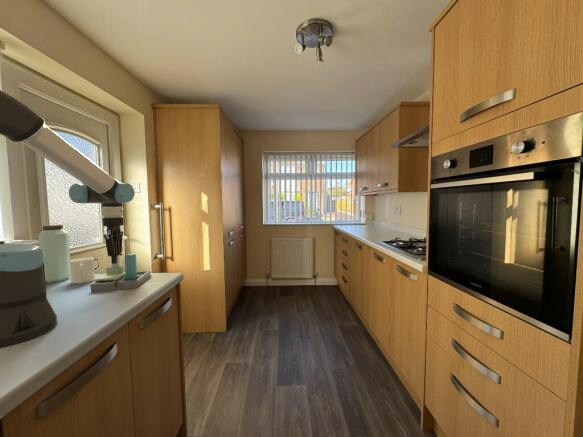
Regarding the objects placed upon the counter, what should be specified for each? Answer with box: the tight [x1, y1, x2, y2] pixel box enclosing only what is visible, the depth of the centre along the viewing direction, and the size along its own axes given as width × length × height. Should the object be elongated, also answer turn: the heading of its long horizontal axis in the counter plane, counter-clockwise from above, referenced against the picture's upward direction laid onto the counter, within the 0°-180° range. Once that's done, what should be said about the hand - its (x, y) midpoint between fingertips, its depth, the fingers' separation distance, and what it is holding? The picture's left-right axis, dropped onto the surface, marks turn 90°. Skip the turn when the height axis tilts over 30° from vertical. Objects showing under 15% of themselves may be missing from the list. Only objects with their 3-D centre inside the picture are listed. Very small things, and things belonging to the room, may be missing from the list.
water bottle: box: [37, 224, 71, 284], centre depth 115 cm, size 10×10×25 cm
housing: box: [90, 270, 152, 293], centre depth 109 cm, size 18×16×3 cm
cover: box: [93, 265, 125, 282], centre depth 106 cm, size 9×8×4 cm
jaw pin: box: [124, 253, 138, 281], centre depth 106 cm, size 4×4×12 cm
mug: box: [70, 256, 96, 284], centre depth 111 cm, size 8×12×10 cm
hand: (116, 270), depth 111 cm, fingers closed
